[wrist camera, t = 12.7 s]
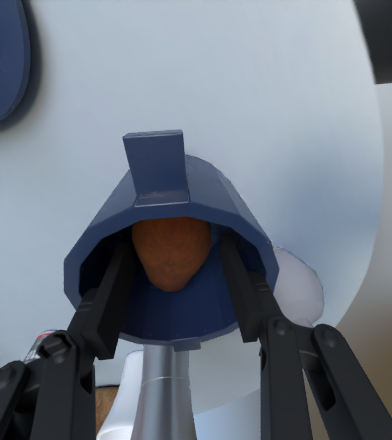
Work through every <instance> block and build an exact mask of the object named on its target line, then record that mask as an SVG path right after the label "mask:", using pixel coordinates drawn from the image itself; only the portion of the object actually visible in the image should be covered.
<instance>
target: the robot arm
mask: <svg viewBox="0 0 392 440" xmlns="http://www.w3.org/2000/svg"><path fill="white" fill-rule="evenodd" d="M220 260H221V264H222V267H223V271H224V274H225V278H226V281H227V285H228V289H229V292H230V296H231V299H232V303H233V307H234V310H235V314H236V317H237V321H238V325H239V328H240V332H241V335H242V339H243V343H247V342H255V341H257V339H258V337H259V340H260V343H261V348H260V352H259V356H261V440H313V437H312V430H311V424H310V417H309V411H308V404H307V398H306V391H305V385H304V378H303V372H302V368H303V369H304V371H305V374H306V377H307V379H308V382H309V385H310V387H311V390H312V393H313V396H314V398H315V401H316V404H317V406H318V409H319V412H320V414H321V417H322V420H323V422H324V425H325V428H326V431H327V433H328V436H329V439H330V440H392V418H391V416H390V414H389V413H388V411H387V409H386V407H385V406H384V404H383V402H382V401H381V399H380V397H379V396H378V394H377V392H376V391H375V389H374V387H373V386H372V384H371V382H370V380H369V379H368V377H367V375H366V374H365V372H364V370H363V369H362V367H361V365H360V364H359V362H358V360H357V358H356V357H355V355H354V353H353V352H352V350H351V348H350V347H349V345H348V343H347V341H346V340H345V338H344V337H343V336H342V334H341V333H340V332H339V331H338V330H336V329H335V328H334V327H332V326H330V325H327V324H318V325H317V326H315V327H314V328H311V327H306V326H301V325H298V324H295V323H293V322H291V321H290V320H289V319H288V318H286V317H285V316H284V314H283V313H282V311H281V309H280V307H279V305H278V303H277V301H276V299H275V297H274V295H273V293H272V291H271V289H270V287H269V285H268V283H267V281H266V279H265V277H264V276H263V275H262V274H261V273H260V272H259V271H258V270H256V271H246V269H245V266H244V264H243V261H242V259H241V257H240V254H239V252H238V249H237V247H236V244H235V242H234V240H233V237H232V235H231V233H222V234H221V254H220ZM135 270H136V266H135V263H134V260H133V257H132V254H131V250H130V247H129V244H128V242H127V243H118V244H117V246H116V249H115V251H114V254H113V256H112V258H111V261H110V263H109V265H108V268H107V270H106V273H105V275H104V277H103V280H102V282H101V284H100V287H97V288H90V289H89V290H88V291H87V292H86V293H85V295H84V296H83V298H82V300H81V302H80V305H79V306H78V308H77V310H76V312H75V314H74V316H73V318H72V320H71V322H70V324H69V327H68V329H67V331H66V330H58V331H55V332H53V333H51V334H49V335H48V336H47V337H46V338H44V339H43V340H42V341H41V343H40V344H39V345H38V347H37V349H36V352H35V353H36V354H37V355H38V356H39V357H40V358H37V359H35V360H33V361H31V362H28V363H26V364H25V363H23V362H22V361H20V360H19V361H13V362H10V363H8V364H6V365H5V366H3V367H2V368H0V440H96V395H95V367H94V365H93V362H94V359H95V356H96V357H97V358H98V360H106V359H113V358H114V354H115V350H116V346H117V342H118V338H119V334H120V330H121V326H122V322H123V318H124V314H125V310H126V306H127V302H128V298H129V294H130V290H131V286H132V282H133V278H134V274H135Z"/></svg>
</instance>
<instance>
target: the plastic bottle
mask: <svg viewBox="0 0 392 440" xmlns="http://www.w3.org/2000/svg"><path fill="white" fill-rule="evenodd" d="M143 346H144V350H143V367H142V381H141V387H140V390H141V391H140V394H139V399H138V405H137V411H136V417H135V421H134V426H133V430H132V434H131V439H130V440H197V437H196V431H195V424H194V418H193V412H192V403H191V391H190V388H189V386H190V380H189V350H188V351H180V352H174V348H173V346H158V345H145V344H143Z"/></svg>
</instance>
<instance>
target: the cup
mask: <svg viewBox="0 0 392 440" xmlns="http://www.w3.org/2000/svg"><path fill="white" fill-rule="evenodd" d="M142 367H143V351H134V352H131V353H130V354H128V355H127V357H126V358H125V365H124V370H123V374H122V378H121V382H120V386H119V390H118V393H117V395H116V398H115V400H114V403H113V406H112V408H111V410H110V412H109V414H108V416H107V418H106V420H105V421H104V423H103V425H102V427H101V429H100V431H99V432H98V434H97V437H96V440H130V439H131V434H132V430H133V426H134V421H135V417H136V411H137V405H138V399H139V394H140V391H141V390H140V387H141V381H142Z"/></svg>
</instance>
